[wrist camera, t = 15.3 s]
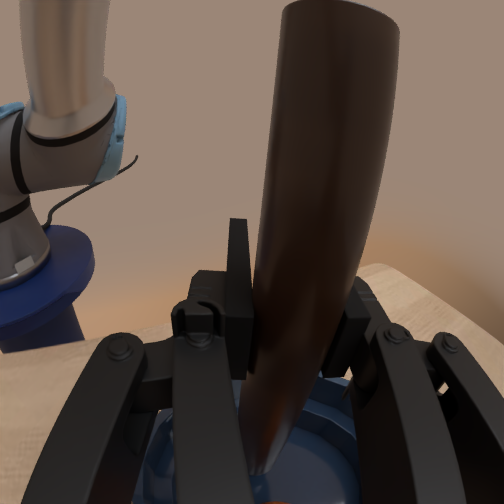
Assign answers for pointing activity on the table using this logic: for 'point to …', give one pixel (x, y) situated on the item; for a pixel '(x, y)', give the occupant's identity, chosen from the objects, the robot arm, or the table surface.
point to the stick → (314, 204)
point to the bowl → (289, 461)
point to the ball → (275, 503)
